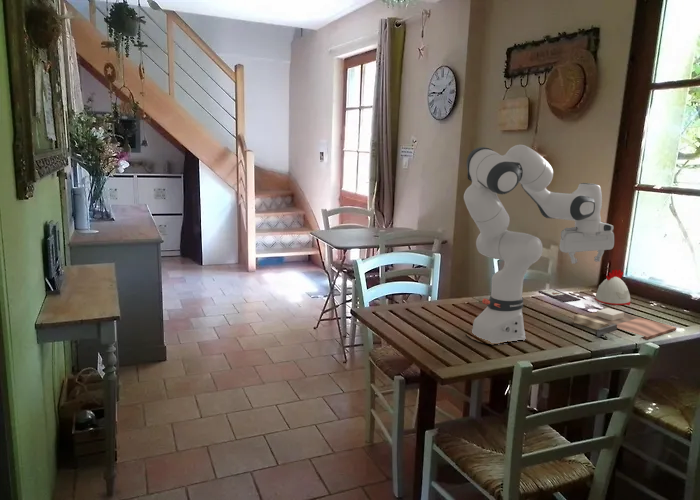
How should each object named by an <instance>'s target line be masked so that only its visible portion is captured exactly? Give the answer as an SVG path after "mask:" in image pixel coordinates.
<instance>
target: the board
mask: <svg viewBox="0 0 700 500" xmlns="http://www.w3.org/2000/svg"><path fill="white" fill-rule="evenodd" d="M583 316H586V317H589V318H593V319H596V320H599V321H602V322H606V323H608V326H610V325H613V324H616V325H617V329H621V330H624V331H627V332H630V333H632V334H633V333H634V334H636V335H640V336H642V337H640V338H642V339H644V340H650V339H653V338H657V337H659V336H662V335H666V334H669V333H672V332H674V331H677V326H674V325H673V326H672V325H668V324H666V323H662V322H658V321H655V320H652V319H647V318H644V317H640V316H637V315H632V314H629V313H626V312H624V318H620V319H617V320H613V321H612V320H608V319H605V318H602V317H598V316H597V311H593V312H590V313H587V314H583Z"/></svg>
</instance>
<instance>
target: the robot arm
mask: <svg viewBox="0 0 700 500" xmlns="http://www.w3.org/2000/svg"><path fill="white" fill-rule="evenodd" d="M466 169H467V179H468V181H470V182H471V184H470V185H469V186H468V187H467V188H466V189H465V191H464V194H463V201H464V204H465V207H466V209H467V211H468V214H469V215H470V217H471V219H472V220H473V222H474V223H475V225H476V227H477V228H478V230H479V232H480V233H479V234H478V235H477V237H476V240H475V246H476V250H477V252H478V253H479V254H481V255H483V256H485V257H487V258H490V259H495V260H499V261H504V264H503V267H502V269H500V270H498V271H495V273H494V274H493V275H492V276H491V295H490V297H489V299H488V298H483V299H482V301H481V302H482V304H483V305H484V304H485V305H487V306H486V308H484V310H482V311H481V313H479V314H478V315H477V316H476V317H475V318H474V320H473V323H472V329H471V330H472V333H473V334H474V335H476V336H477V337H479V338H482V339H485V340H488V341H490V342H491V343H500V342H507V341H517V340H523V341H526V340H527V338H526V331H525V326H524V315H523V308H524V297H523V286H524V278H525V275H526V273H527V271H528V270H529V268H530V267H531V266H532V265H533V264H535V263H536V262H538V261H539V260H540V258H541V256H542V255H543V250H544V249H543V248H544V246H543V242H542V241H541V239H540V238H539V237H537V236H536V235H534V234H530V233H525V232H519V231H513V230H508V228H509V226H510V220H511V219H510V215H509V213H508V212H507V210H506V209H505V206H504V204H503V203H502V201H501V199H500V198H499V196H498V195H506V194H509V193H510V192H512V191H513V190H514V189H515V188H516V187H517V186H518V185H519V183H520V186H521V188H522V189H523V190H524V192H525V193H526V194H527V196H528V197H530V199H531V200H532V201H533V202H534V203H535V204H536V206H537V207H538V209H539V212H540V214H541V215H542V217H544V218H546V219H557V220H565V221H574V227H572V226H571V227H565V228H564V229H562V231H561V232H560V240H559V250H560V252H562V253H565V254H567V253H568V256H569V258H570V262H571V264H572V265H573V264H578V258H575V256H574V255H576V253H579V252H583V253H584V252H594V251H597V254H596V256H594V259H593V260H594V262H597V263H599V262H601V259H602V257H603V255H604V253H605V251H607V250H608V251H609V250H612V249H613V248H614V246H615V233H614V225H612V224H609V223H605V222H604V221H602V217H601V210H602V207H603V206H602V205H603V196H602V195H603V193H602V188H601V186H600V185H599V184H596V183H588V182H582V183H581V182H580V183H579V184H578V186H577V188H576V189H575V190H574V191H572V192H571V193H566V192H565V193H564V192H563V193H562V192H556V191H550V190H548V189H547V187H548V186H549V185H550V184H551V183H552V180H553V178H554V169H553V167H552V165H551V164H550V162H549V161H547V159H545V158H544V157H543V156H542V155H541V154H540V153H539V152H538V151H535V149H532V148H531V147H530V146H527V145H525V144H516V145H513V146H511V147H510V148H509V149H508V150H507V151H506V153H505V154H503V155H502V154H500V153H498V152H497V151H494V150H493V148H492V149H491V148H488V147H485V146H481V147H476V148H474V149H472V150H471V151H470V153H469V154H468V155H467V158H466ZM525 339H526V340H525ZM517 342H518V341H517Z"/></svg>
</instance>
